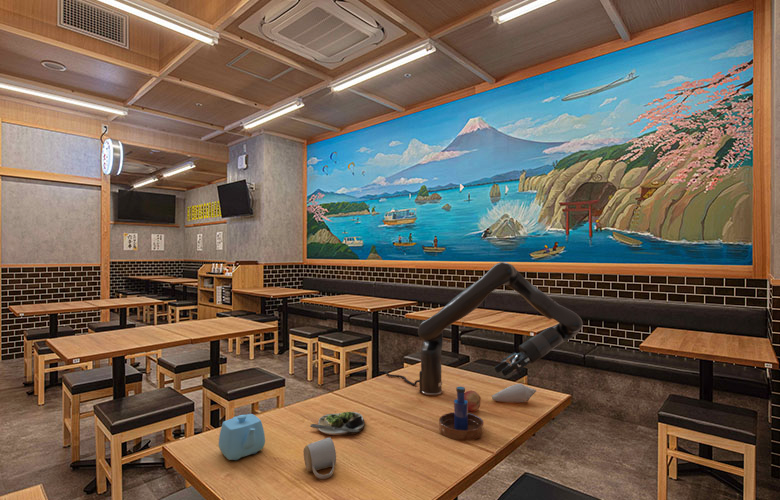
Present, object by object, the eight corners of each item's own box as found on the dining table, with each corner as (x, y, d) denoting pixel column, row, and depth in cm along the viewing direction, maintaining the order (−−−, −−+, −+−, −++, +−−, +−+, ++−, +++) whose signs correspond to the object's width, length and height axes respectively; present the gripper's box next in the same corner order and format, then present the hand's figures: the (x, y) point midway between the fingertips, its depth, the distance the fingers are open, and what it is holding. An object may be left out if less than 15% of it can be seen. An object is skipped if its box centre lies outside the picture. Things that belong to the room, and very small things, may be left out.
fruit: (468, 417, 146) (468, 396, 146) (457, 409, 153) (456, 389, 153) (484, 413, 149) (484, 392, 149) (473, 406, 156) (472, 386, 156)
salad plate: (309, 441, 128) (309, 427, 128) (311, 419, 145) (311, 407, 145) (366, 436, 131) (366, 422, 131) (361, 415, 149) (361, 403, 149)
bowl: (433, 436, 130) (432, 425, 130) (447, 419, 144) (447, 409, 144) (476, 446, 123) (476, 434, 123) (488, 428, 136) (488, 416, 136)
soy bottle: (452, 431, 132) (451, 389, 133) (456, 426, 136) (456, 384, 137) (465, 434, 130) (465, 391, 130) (469, 428, 134) (469, 386, 135)
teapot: (233, 472, 109) (233, 432, 110) (214, 449, 123) (214, 414, 123) (274, 457, 118) (274, 420, 118) (252, 437, 131) (251, 403, 131)
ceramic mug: (302, 465, 113) (302, 439, 113) (328, 457, 117) (328, 432, 117) (312, 484, 104) (312, 456, 104) (341, 475, 108) (341, 448, 108)
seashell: (515, 420, 160) (539, 394, 158) (499, 409, 155) (524, 383, 153) (504, 405, 167) (527, 380, 166) (488, 395, 162) (512, 369, 161)
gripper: (522, 338, 148) (488, 360, 147) (536, 340, 134) (499, 365, 133) (533, 355, 147) (498, 378, 145) (549, 359, 133) (511, 384, 131)
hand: (499, 372), depth 139 cm, fingers open, 8 cm apart
